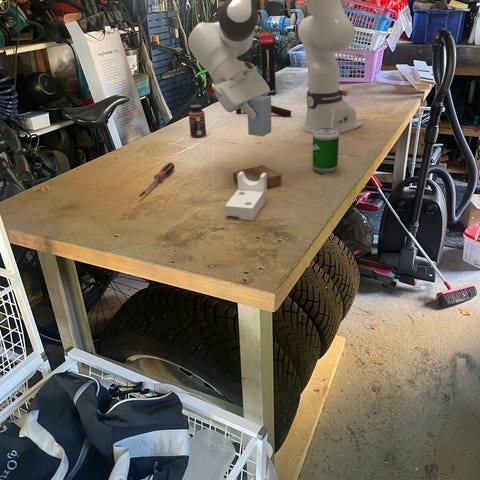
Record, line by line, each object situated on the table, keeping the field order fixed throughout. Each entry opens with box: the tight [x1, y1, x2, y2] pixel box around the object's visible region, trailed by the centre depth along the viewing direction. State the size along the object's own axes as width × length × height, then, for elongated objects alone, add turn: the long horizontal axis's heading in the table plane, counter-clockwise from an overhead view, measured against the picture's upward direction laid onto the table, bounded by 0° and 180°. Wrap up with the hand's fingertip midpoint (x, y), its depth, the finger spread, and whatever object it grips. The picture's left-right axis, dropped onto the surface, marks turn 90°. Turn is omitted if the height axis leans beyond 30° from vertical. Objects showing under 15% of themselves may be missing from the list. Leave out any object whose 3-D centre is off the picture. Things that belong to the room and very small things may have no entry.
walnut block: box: [232, 164, 282, 189], centre depth 136 cm, size 10×10×3 cm
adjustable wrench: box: [235, 104, 292, 118], centre depth 201 cm, size 8×3×25 cm
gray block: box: [247, 95, 272, 137], centre depth 134 cm, size 5×5×10 cm
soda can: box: [311, 128, 340, 174], centre depth 140 cm, size 8×8×12 cm
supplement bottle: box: [188, 104, 207, 138], centre depth 179 cm, size 6×6×11 cm
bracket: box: [224, 172, 268, 221], centre depth 121 cm, size 13×7×8 cm, turn 162°
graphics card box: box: [258, 31, 277, 96], centre depth 233 cm, size 17×7×27 cm, turn 179°
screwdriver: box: [138, 162, 175, 198], centre depth 140 cm, size 25×3×3 cm, turn 166°
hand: (261, 114), depth 133 cm, fingers closed on gray block, 5 cm apart
